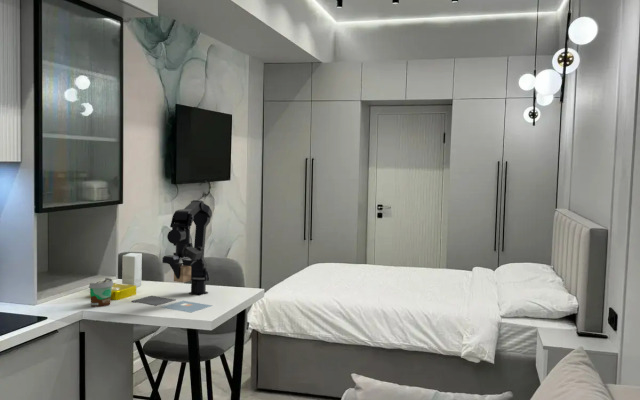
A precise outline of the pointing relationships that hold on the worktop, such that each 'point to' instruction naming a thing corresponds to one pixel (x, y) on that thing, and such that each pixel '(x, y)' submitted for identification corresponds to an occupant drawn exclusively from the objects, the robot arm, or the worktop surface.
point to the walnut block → (184, 274)
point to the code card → (186, 306)
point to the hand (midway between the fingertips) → (182, 277)
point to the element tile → (122, 291)
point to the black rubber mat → (153, 300)
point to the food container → (101, 293)
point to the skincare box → (132, 269)
